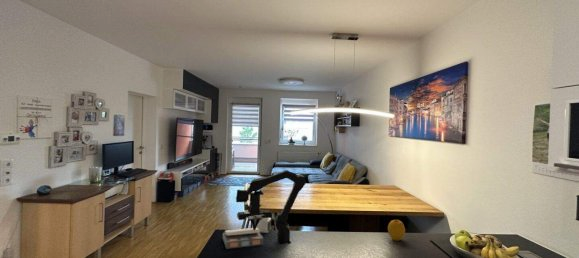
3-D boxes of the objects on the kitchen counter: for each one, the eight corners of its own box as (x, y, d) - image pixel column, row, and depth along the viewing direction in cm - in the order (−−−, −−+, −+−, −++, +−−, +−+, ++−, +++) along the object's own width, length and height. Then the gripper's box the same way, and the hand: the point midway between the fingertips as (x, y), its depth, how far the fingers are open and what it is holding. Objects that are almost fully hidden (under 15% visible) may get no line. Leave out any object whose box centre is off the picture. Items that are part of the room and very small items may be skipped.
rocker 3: (256, 232, 177) (256, 227, 178) (259, 233, 170) (259, 229, 171) (246, 233, 175) (246, 228, 176) (249, 234, 168) (249, 230, 168)
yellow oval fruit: (390, 235, 186) (391, 216, 186) (406, 239, 181) (407, 219, 180) (385, 239, 178) (385, 220, 178) (402, 244, 173) (402, 223, 173)
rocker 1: (235, 234, 173) (235, 229, 174) (238, 236, 166) (238, 231, 166) (225, 235, 171) (225, 230, 172) (227, 237, 164) (227, 232, 164)
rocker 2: (246, 233, 175) (246, 228, 176) (249, 234, 168) (249, 230, 168) (235, 234, 173) (235, 229, 174) (238, 236, 166) (238, 231, 166)
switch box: (257, 235, 180) (257, 229, 180) (263, 244, 166) (263, 238, 166) (222, 239, 173) (222, 232, 173) (226, 249, 160) (226, 242, 159)
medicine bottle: (267, 233, 184) (268, 213, 184) (256, 232, 186) (257, 212, 185) (271, 229, 191) (271, 210, 191) (260, 228, 193) (260, 209, 192)
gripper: (267, 197, 181) (266, 224, 181) (235, 199, 174) (235, 226, 175) (272, 202, 170) (271, 230, 170) (239, 204, 164) (238, 233, 164)
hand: (254, 230), depth 170 cm, fingers closed, pressing on rocker 3
